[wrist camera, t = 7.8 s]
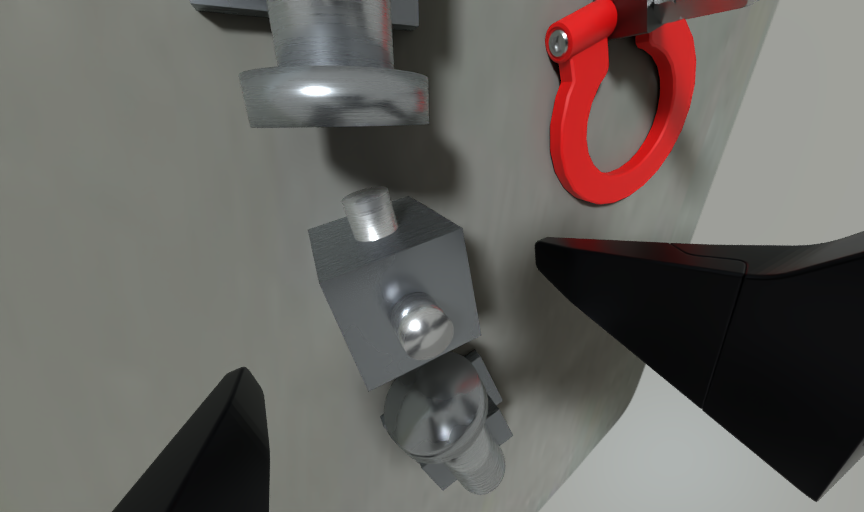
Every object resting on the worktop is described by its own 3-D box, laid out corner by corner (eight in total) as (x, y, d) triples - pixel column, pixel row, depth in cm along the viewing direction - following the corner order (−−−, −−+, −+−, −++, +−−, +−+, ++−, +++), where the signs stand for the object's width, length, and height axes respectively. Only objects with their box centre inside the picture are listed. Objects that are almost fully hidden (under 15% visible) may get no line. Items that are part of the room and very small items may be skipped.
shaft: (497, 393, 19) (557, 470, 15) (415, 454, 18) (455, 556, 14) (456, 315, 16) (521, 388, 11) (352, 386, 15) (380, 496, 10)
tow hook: (668, 152, 18) (677, -51, 13) (1204, 220, 8) (2297, -669, 3) (558, 227, 17) (520, 34, 12) (1019, 431, 6) (2463, -509, 1)
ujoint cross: (434, 299, 15) (506, 384, 10) (353, 335, 14) (390, 449, 9) (400, 165, 12) (479, 195, 7) (294, 198, 11) (301, 258, 6)
